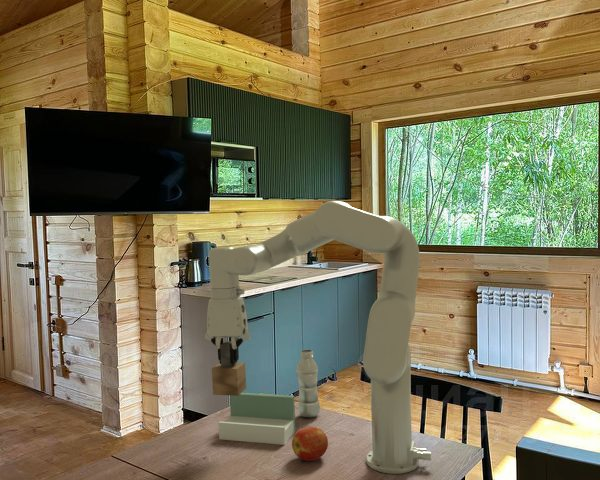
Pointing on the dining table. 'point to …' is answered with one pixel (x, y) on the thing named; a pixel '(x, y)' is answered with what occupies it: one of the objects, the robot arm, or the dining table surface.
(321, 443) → the apple
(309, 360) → the plastic bottle
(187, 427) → the dining table surface
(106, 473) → the dining table surface
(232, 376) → the tan grey tall block
